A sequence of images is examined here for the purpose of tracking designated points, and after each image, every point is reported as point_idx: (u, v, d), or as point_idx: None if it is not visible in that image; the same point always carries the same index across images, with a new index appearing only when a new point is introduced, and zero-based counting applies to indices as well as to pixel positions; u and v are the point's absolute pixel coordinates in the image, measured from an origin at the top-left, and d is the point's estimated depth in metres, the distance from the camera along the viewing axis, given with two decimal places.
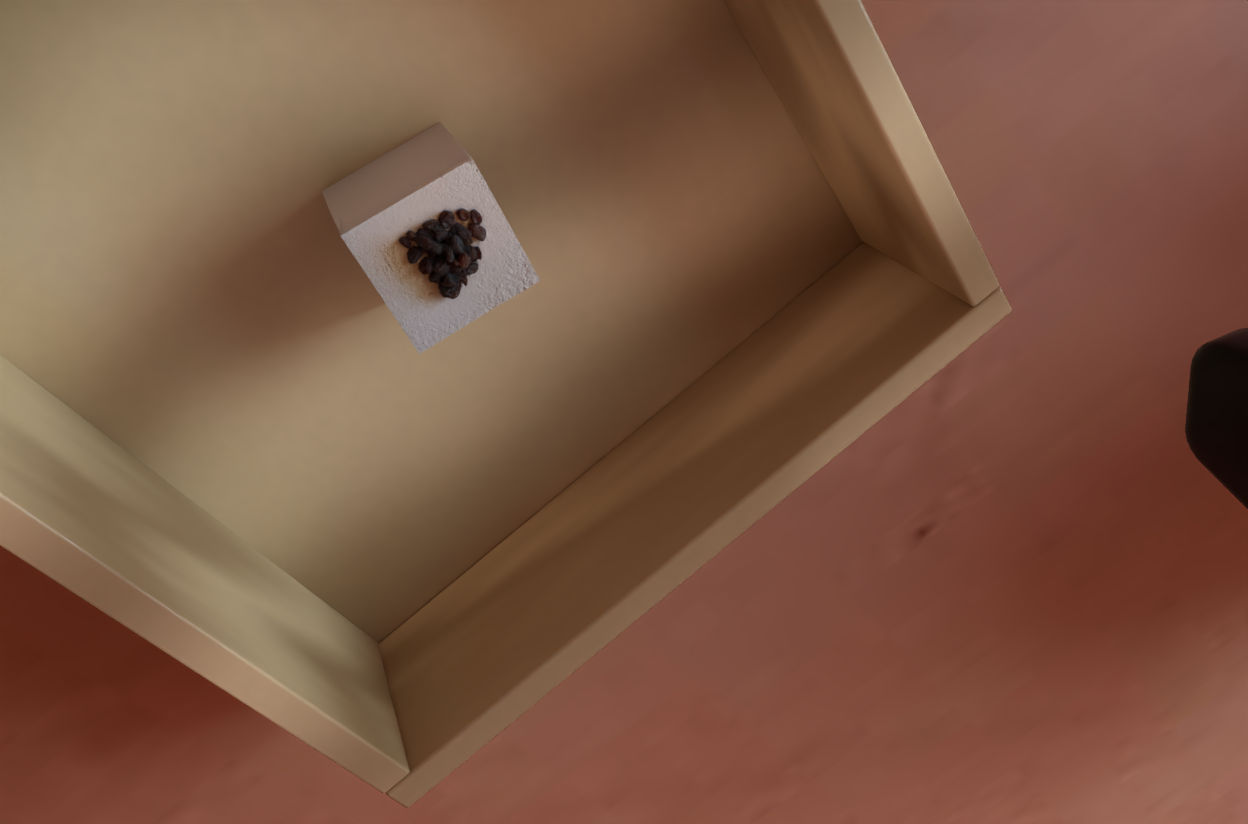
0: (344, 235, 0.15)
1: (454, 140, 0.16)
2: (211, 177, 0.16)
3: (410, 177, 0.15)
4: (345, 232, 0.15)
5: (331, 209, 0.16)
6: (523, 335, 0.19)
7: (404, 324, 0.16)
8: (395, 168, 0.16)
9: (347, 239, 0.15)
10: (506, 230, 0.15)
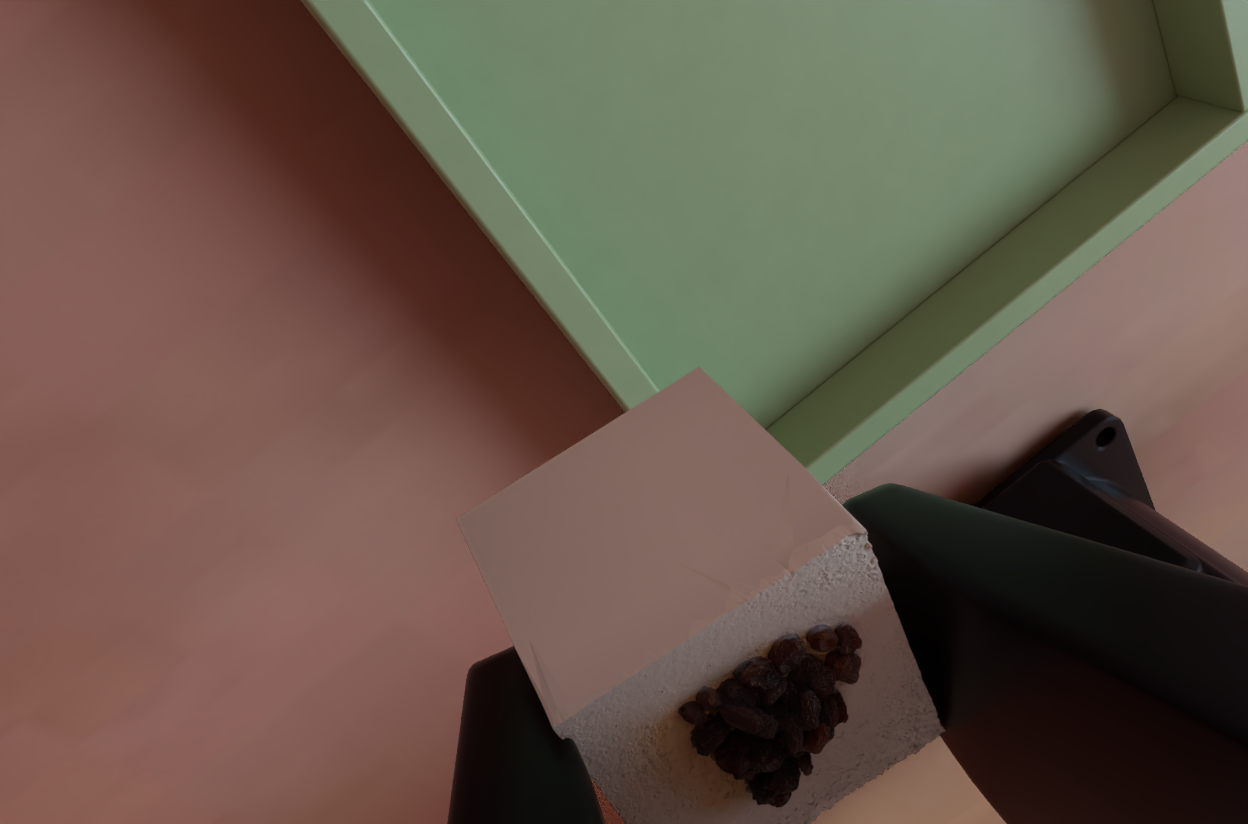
0: (561, 725, 0.06)
1: (771, 440, 0.07)
2: None
3: (692, 547, 0.07)
4: (563, 717, 0.06)
5: (497, 599, 0.07)
6: None
7: None
8: (631, 492, 0.07)
9: (568, 732, 0.06)
10: (901, 653, 0.07)
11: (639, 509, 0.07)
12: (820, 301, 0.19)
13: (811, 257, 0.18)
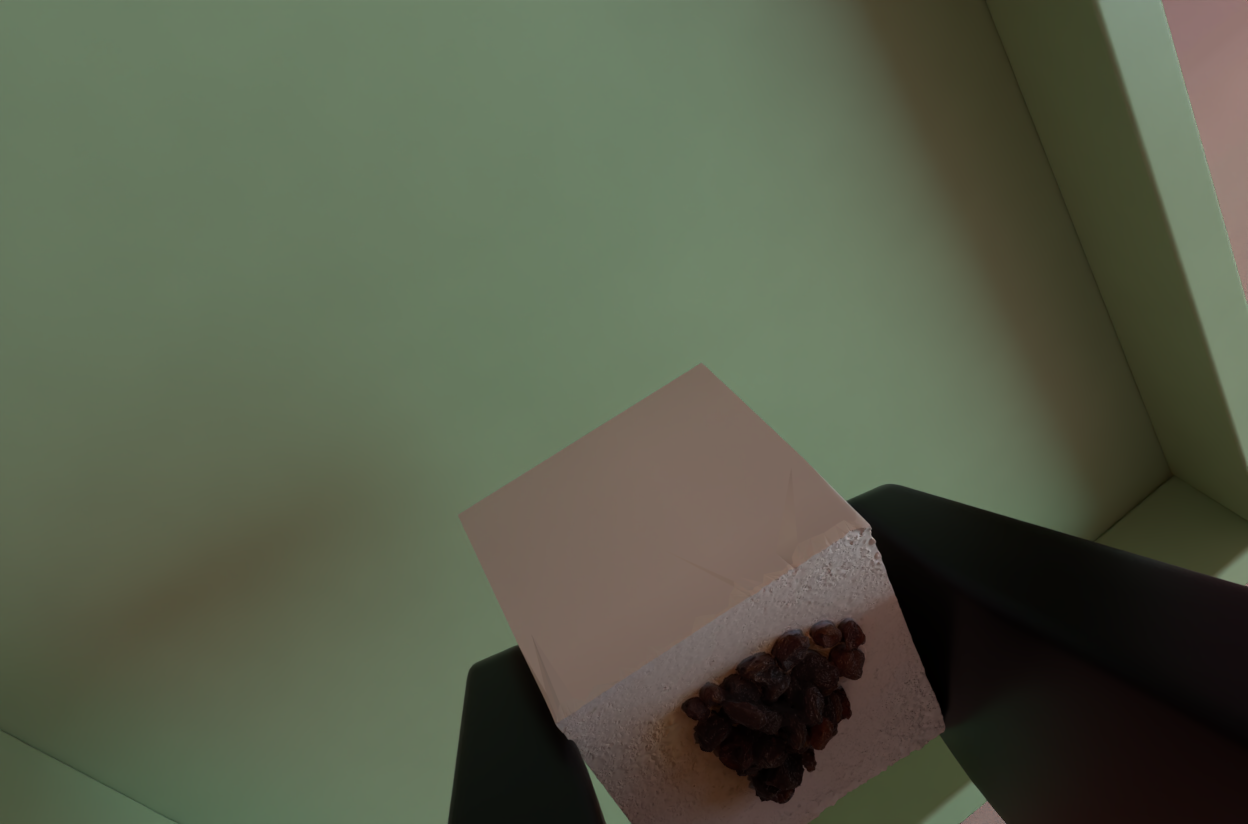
0: (564, 721, 0.06)
1: (774, 435, 0.07)
2: None
3: (696, 542, 0.07)
4: (566, 713, 0.06)
5: (500, 595, 0.07)
6: None
7: None
8: (634, 489, 0.07)
9: (570, 728, 0.06)
10: (904, 649, 0.07)
11: (642, 505, 0.07)
12: None
13: None
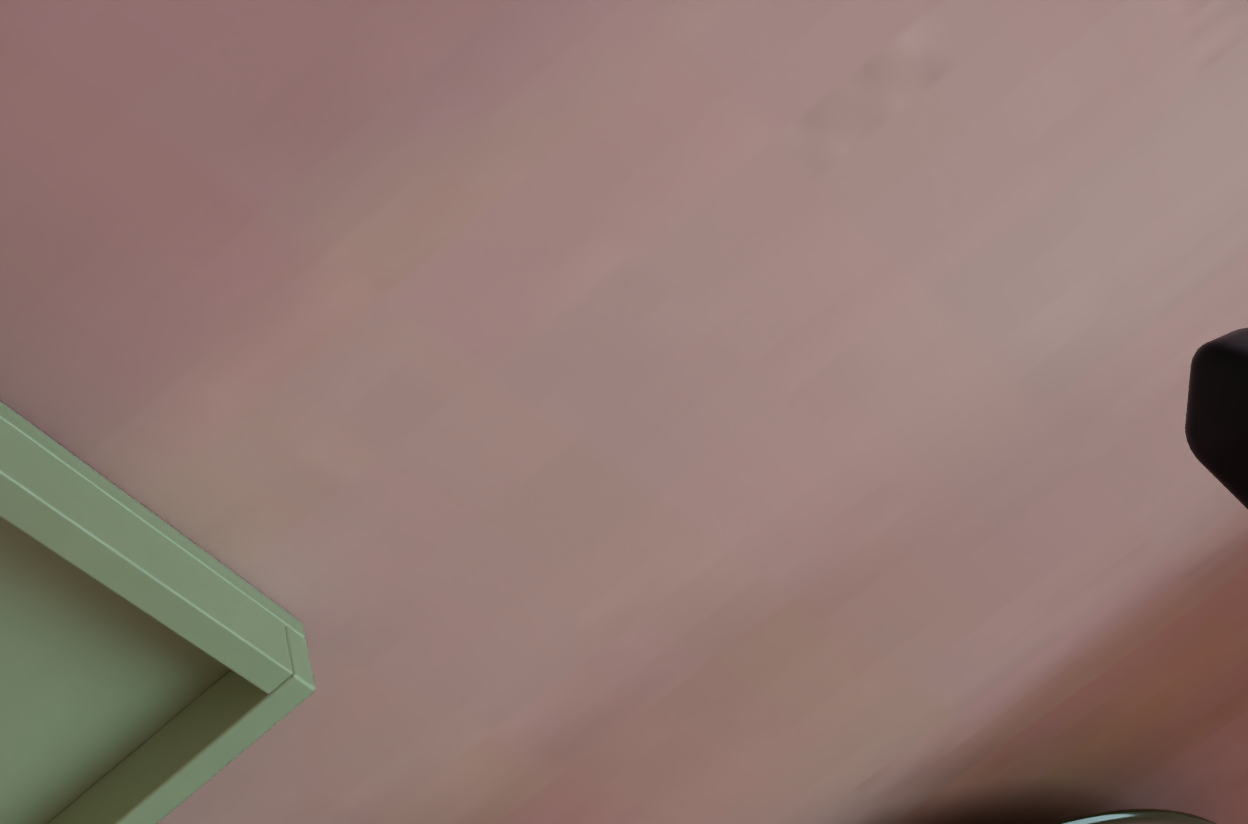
0: None
1: None
2: None
3: None
4: None
5: None
6: None
7: None
8: None
9: None
10: None
11: None
12: None
13: None
